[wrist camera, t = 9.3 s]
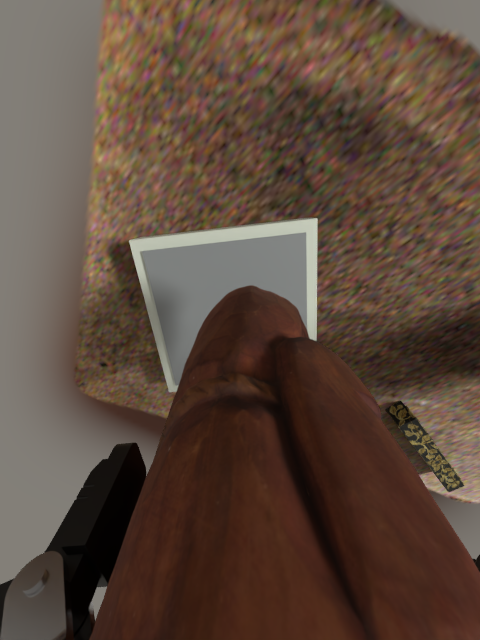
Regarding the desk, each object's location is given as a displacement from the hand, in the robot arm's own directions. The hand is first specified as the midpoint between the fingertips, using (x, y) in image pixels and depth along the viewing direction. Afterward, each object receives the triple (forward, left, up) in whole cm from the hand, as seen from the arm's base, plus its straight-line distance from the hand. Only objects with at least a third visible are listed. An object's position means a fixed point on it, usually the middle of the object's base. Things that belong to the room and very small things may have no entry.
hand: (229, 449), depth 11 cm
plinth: (0, 0, -18) cm, 18 cm away
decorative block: (-23, +22, -19) cm, 37 cm away
